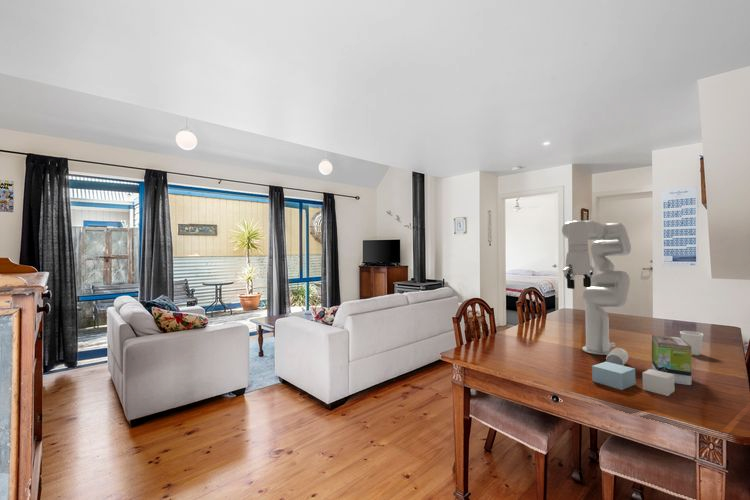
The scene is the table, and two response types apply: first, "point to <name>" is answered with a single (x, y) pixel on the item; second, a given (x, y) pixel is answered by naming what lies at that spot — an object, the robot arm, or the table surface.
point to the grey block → (658, 382)
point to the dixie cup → (693, 340)
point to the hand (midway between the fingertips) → (579, 287)
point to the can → (617, 356)
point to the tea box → (672, 357)
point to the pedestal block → (613, 375)
